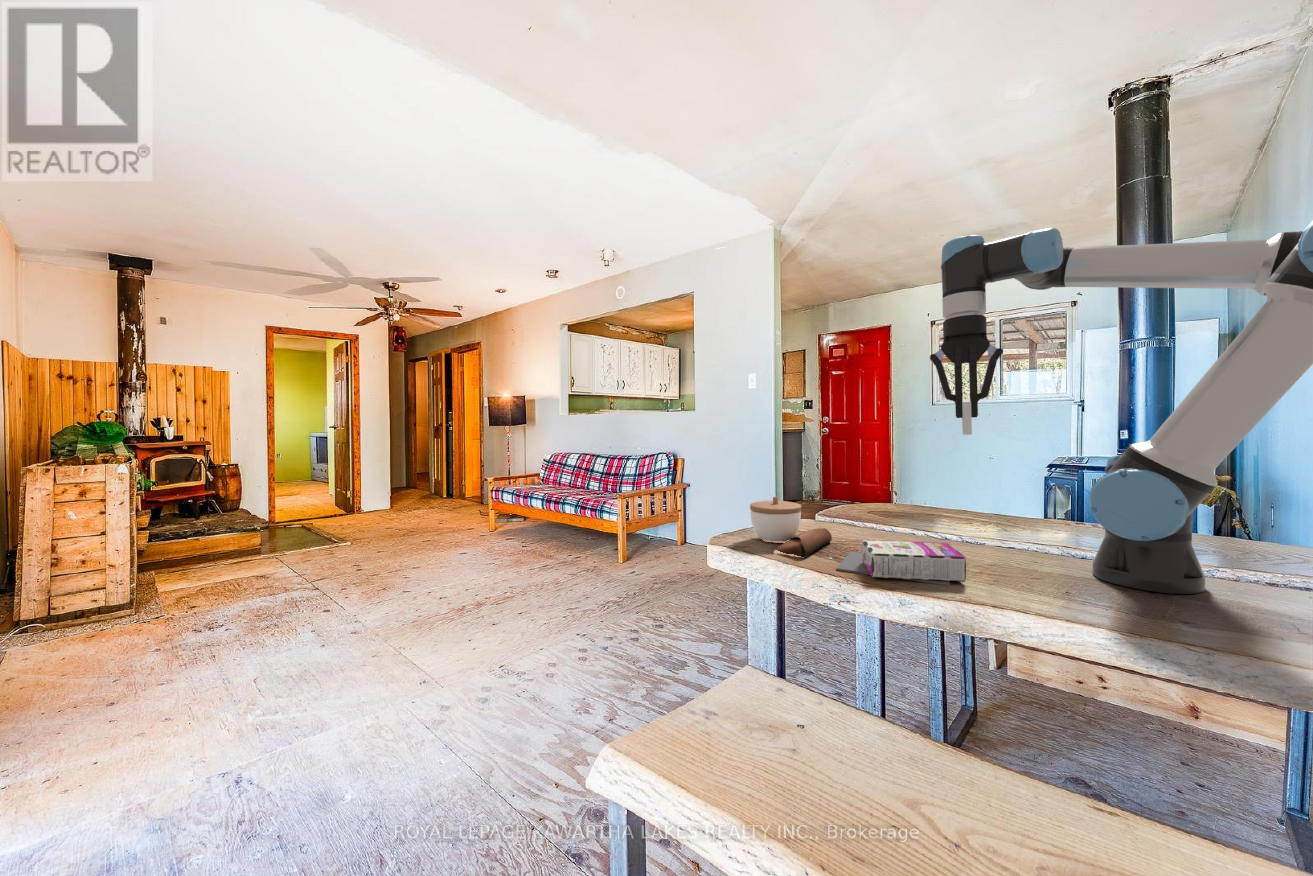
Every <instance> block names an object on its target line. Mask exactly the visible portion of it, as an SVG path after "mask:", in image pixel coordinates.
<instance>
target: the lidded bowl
mask: <svg viewBox="0 0 1313 876" xmlns="http://www.w3.org/2000/svg"><path fill="white" fill-rule="evenodd" d="M749 508H750V521H751V525H752V529H753V531H754V533H755V534H756V535H757V536H758V537H759V538H760V540H761V539H763V540H770V541H787V540H790V538H791V537H793V536H795V535H797V534H798V532H799V529H800V525H801V518H802V517H801V516H802V515H801V513H802V505H801V504H800V503H797V502H792V501H785V500H779V497H778V496H773V497H772V500H761V501H759V500H758V501H753V502H752V503H750V504H749Z"/></svg>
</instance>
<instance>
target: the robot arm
mask: <svg viewBox="0 0 1313 876" xmlns="http://www.w3.org/2000/svg"><path fill="white" fill-rule="evenodd" d="M1063 245H1064V244H1063V238H1062V236H1061V232H1060V230H1059V229H1058V228H1056V227H1049V228H1044V229H1039V230H1038V229H1037V230H1036V229H1035V230H1031V231H1029V232H1027V233H1023V234H1019V235H1015V236H1011V237H1008V238H1003V239H1000V240H996V241H993V242H985V238H984V237H983V236H981V235H978V234H969V235H965V236H959V237H956V238H952V239H950V240H949V241H947V242H946V243H945V244H944V245H943V246H942V249H941V265H940V270H941V287H942V289H941V290H942V297H941V298H942V300H941V301H942V317H943V318H944V319H945V320H943V322H942V326H943V327H942V333H943V336H942V337H943V339H942V340H943V342H942V345H941V346H940V349H939V350H937V351H936V352H935V353H932V354H930V355H929V360H930V361H931V362H932V364H933V365H934V366H935V368H936V373H937V375H938V379H939V382H940V385H941V389H942V393H943V395H944V398H945V399H946V400H948V401H951V402H953V403H954V405H955V408H954V409H955V417H956V419H961V421H962V423H961V425H962V426H961V427H962V428H961V429H962V435H963V436H965V435H970V436H971V435H973V426H972V425H973V424H972V422H973V421H972V420H973V419H972V418H978V415H979V407H978V406H979V405H978V404H979V403H978V402H979V401H980V400H983V399H985V398H987V397H988V396H989V393H990V390H991V385H992V381H993V379H994V374H995V370H996V367H997V362H998V359H1000V357H1001V356H1002V354H1003V352H1004V350H1003V348H1001V347H996V346H993V345H992V344H991V342H990V340H989V339H988V335H987V334H988V333H987V330H988V329H987V317H986V315H984V314H986V312H987V294H986V290H987V289H986V285H987V284H990V283H995V282H1001V281H1005V280H1011V279H1014V280H1016V281H1018V282H1019V283H1021V284H1022V285H1023V286H1024V287H1026V288H1028V289H1030V290H1038V291H1045V290H1049V289H1052V288H1124V289H1125V288H1127V289H1128V288H1132V289H1133V288H1135V289H1137V288H1138V289H1139V288H1141V289H1149V288H1151V289H1153V288H1155V289H1228V290H1230V289H1234V290H1237V289H1238V290H1241V289H1243V290H1245V289H1246V290H1247V289H1248V290H1249V289H1250V290H1253V291H1255V292H1256V293H1258V294H1259V295H1260V296H1266V301H1265V302H1264V304H1263V305H1262V306H1261V308H1259V310H1258V311H1256V313H1255V314H1254V315H1253V317H1251V319H1250V320H1249V321H1248V322H1247V324H1246V325H1245V326H1244V327H1243V328H1242V330H1241V331H1240V332H1239V333H1238V335H1237V336H1236V337H1234V339H1233V340H1232V342H1231V343H1230V344H1229V345H1228V346H1227V348H1226V349H1225V350H1224V351H1223V352H1222V353H1221V354H1220V356H1219V357H1218V358H1217V359H1216V360H1215V362H1214V363H1213V364H1212V365H1211V366H1210V368H1208V369H1207V371H1206V372H1205V373H1204V374H1203V376H1202V377H1201V378H1200V380H1198V382H1197V383H1196V384H1195V385H1194V386H1193V388H1192V389H1191V390H1190V391H1189V392H1188V394H1186V395H1185V397H1184V399H1183V400H1181V402H1180V403H1179V404H1178V405H1177V406H1176V408H1175V409H1174V410H1173V411H1172V412H1171V414H1170V415H1169V416H1168V417H1167V418H1166V419H1165V421H1164V422H1163V423H1162V424H1161V426H1160V427H1159V428H1158V429H1157V431H1156V432H1154V434H1153V435H1152V436H1151V437H1150V438H1149V440H1145V441H1142V442H1141V441H1140V442H1136V443H1132V444H1131V443H1130V444H1129V446H1128V447H1127V448H1126V449H1125V451H1124V452H1123V453H1122V455H1118V454H1117V455H1112V456H1110V457H1108V459H1107V461H1106V466H1105V467H1104V471H1105V474H1103V476H1101V477H1099V478H1098V479H1096V481H1095V482H1094V484H1093V485H1092V486H1091V488H1090V493H1089V500H1088V501H1089V502H1088V504H1089V509H1090V512H1091V514H1092V515H1093V517H1094V519H1095V520H1096V522H1097V523H1098V524H1099V525H1100V526H1101V527H1103V528H1104V530H1105V532H1104V533H1105V534H1104V536H1103V539H1102V541H1101V544H1100V545H1099V547H1098V549H1097V552H1096V554H1095V557H1094V559H1093V561H1092V571H1091V572H1092V575H1093V576H1095V577H1096V578H1098V579H1099V580H1102V581H1105V582H1108V583H1111V584H1114V585H1118V586H1122V587H1125V586H1126V588H1130V587H1131V589H1136V590H1142V591H1148V592H1154V593H1155V592H1156V593H1163V594H1175V595H1176V594H1177V595H1178V594H1179V595H1191V594H1192V595H1195V594H1200V593H1203V592H1205V591H1206V576H1205V574H1204V571H1203V569H1202V566H1201V564H1200V562H1199V559H1198V556H1197V554H1196V552H1195V550H1194V547H1193V543H1192V542H1193V515H1194V511H1195V510H1196V509H1197V507H1198V506H1200V504H1201V503H1202V502H1203V501H1204V500H1206V498H1207V497H1208V496H1209V494H1211V492H1213V490H1215V488H1217V486H1218V485H1219V484H1218V480H1217V477H1216V475H1215V470H1216V469H1217V468H1218V467H1219V466H1220V465H1221V464H1222V463H1223V462H1224V460H1225V459H1226V458H1227V457H1228V456H1229V455H1230V454H1231V453H1232V452H1233V450H1234V449H1236V447H1238V445H1239V444H1240V443H1241V442H1242V441H1243V439H1245V437H1246V436H1247V435H1248V434H1249V433H1251V431H1252V430H1253V429H1254V428H1255V427H1256V426H1257V425H1258V423H1260V422H1261V421H1262V420H1263V418H1264V417H1265V416H1266V415H1267V414H1268V413H1269V412H1270V410H1271V409H1273V408H1274V406H1275V405H1276V404H1277V403H1278V402H1280V400H1281V399H1282V398H1283V396H1284V395H1286V393H1288V392H1289V390H1290V389H1291V388H1292V387H1293V386H1294V385H1295V384H1296V383H1297V381H1299V380H1300V378H1301V377H1303V376H1304V374H1305V373H1306V372H1307V371H1308V370H1309V369H1310V368H1311V367H1312V366H1313V220H1312V221H1311V222H1310V223H1309V224H1308V225H1307V226H1306V227H1305V229H1304V230H1302V231H1301V230H1299V231H1284V232H1280V233H1277V234H1276V235H1275V236H1272V237H1271V238H1268V239H1251V240H1228V241H1227V240H1226V241H1200V242H1199V241H1198V242H1175V243H1173V242H1172V243H1171V242H1170V243H1149V244H1148V243H1147V244H1146V243H1145V244H1144V243H1143V244H1123V245H1122V244H1121V245H1119V244H1118V245H1117V244H1116V245H1094V246H1093V245H1092V246H1074V247H1071V246H1069V247H1068V246H1067V247H1064V246H1063ZM986 352H987V357H988V358H989V359H988V363H987V366H986V369H985V374H984V378H983V382H982V386H981V390H980V392H979V393H978V362H979V360H981V358H982V356H983V355H984V354H985V353H986ZM943 356H945V357H946V358H947V360H949V361H950V362H951V363H952V364H953V368H954V370H953V371H954V394H952V391H951V388H950V385H949V381H948V377H947V375H946V371H945V368H944V364H943V360H944V357H943ZM963 364H968V376H969V377H968V379H969V386H968V387H969V401H963Z"/></svg>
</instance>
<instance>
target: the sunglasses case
mask: <svg viewBox="0 0 1313 876" xmlns="http://www.w3.org/2000/svg"><path fill="white" fill-rule="evenodd" d="M832 540H833V537H832V533H831V532H830V530H829V529H827V528H824V527H823V528H822V527H820V528H813V529H809V530H808V529H807V530H806V531H803V532H801V533H797V534H796V535H795V536H793V537H791V538H790V540H789V541H787V542H785V543H783V544H779V546H777V547H775V549H776V550H778V551H780V552H783V553H786V554H794V555H797V556H801V557H804V559H805V558H807V557H808V556H810V555H811V554H812V553H813V552H815V551H816V550H817V549H819V548H821V547H822V546H824V545H826V544H828V543H831V542H832Z"/></svg>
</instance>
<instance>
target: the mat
mask: <svg viewBox="0 0 1313 876" xmlns="http://www.w3.org/2000/svg"><path fill="white" fill-rule="evenodd" d="M835 570H836V571H839V572H848V573H854V574H861V575H869V576H871V574H870V573H869V571H868V569H867V568H866V566H865V565H864V563H863V561H862V552H857V551H850V552H849V553H848V554H847V555H846V557H845V558H844V559H842V561H841V562H840V563H839V564H838V565H837V567H836V568H835ZM903 580H906V581H912V582H920V583H928V584H934V585H943V586H948V587H949V586H950V583H951V581H941V580H921V579H903Z"/></svg>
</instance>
